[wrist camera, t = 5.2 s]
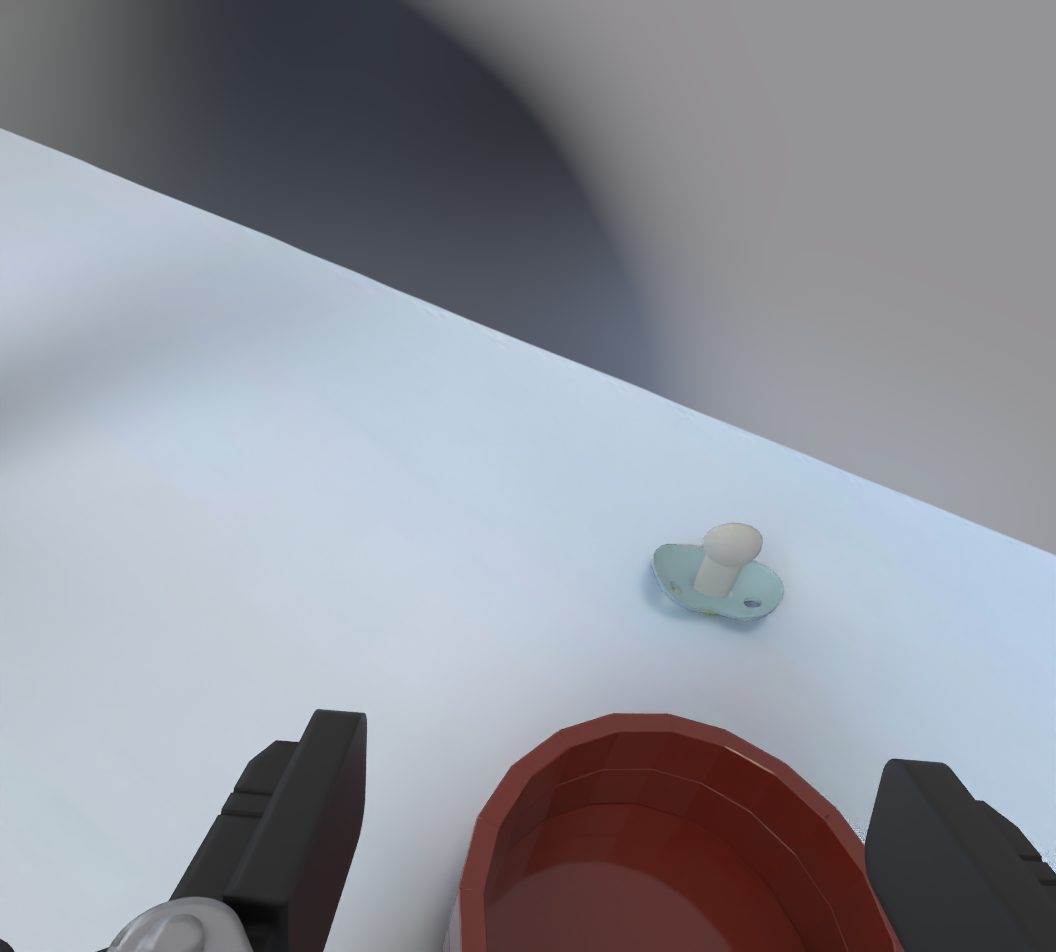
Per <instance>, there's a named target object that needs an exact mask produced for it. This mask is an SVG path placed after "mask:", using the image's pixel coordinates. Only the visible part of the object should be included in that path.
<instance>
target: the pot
mask: <svg viewBox="0 0 1056 952" xmlns="http://www.w3.org/2000/svg"><path fill="white" fill-rule="evenodd" d="M441 952H905V951H904V949H903V947H902V946H901V944H900V942H899V940H898V938H897V936H896V934H895V932H894V930H893V928H892V926H891V924H890V922H889V920H888V918H887V916H886V914H885V912H884V910H883V908H882V906H881V904H880V903H879V901H878V899H877V897H876V895H875V893H874V891H873V889H872V887H871V884H870V882H869V879H868V875H867V871H866V865H865V846H864V844H863V843H862V842H861V840H860V839H859V838H858V836H857V835H856V834H855V832H854V831H853V830H852V828H851V827H850V825H849V824H848V823H847V821H846V820H845V819H844V817H843V816H842V815H841V813H840V812H839V811H838V810H836V808H835V807H834V806H833V805H832V804H831V803H830V802H829V801H828V800H826V799H825V798H824V797H823V796H822V795H821V794H820V793H819V792H817V791H816V790H815V789H814V788H813V787H812V786H811V785H810V784H808V783H807V782H806V781H805V780H804V779H803V778H802V777H801V776H799V775H798V774H797V773H796V772H795V771H794V770H793V769H791V768H790V767H789V766H788V765H787V764H786V763H783V762H782V761H781V760H779V759H777V758H776V757H774V756H772V755H770V754H768V753H767V752H765V751H763V750H761V749H759V748H758V747H756V746H754V745H752V744H751V743H749V742H747V741H745V740H743V739H742V738H740V737H738V736H736V735H734V734H733V733H731V732H729V731H726V730H725V729H721V728H718V727H714V726H711V725H707V724H703V723H700V722H696V721H693V720H689V719H686V718H682V717H678V716H675V715H671V714H619V713H613V714H609V715H606V716H603V717H600V718H596V719H593V720H590V721H587V722H584V723H580V724H577V725H574V726H571V727H568V728H564V729H561V730H559V732H556V733H555V734H553V735H552V736H551V737H549V738H548V739H547V740H545V741H544V742H543V743H541V744H540V745H539V746H537V747H536V748H535V749H533V750H532V751H531V752H529V753H528V754H527V755H525V756H524V757H523V758H521V759H520V760H518V761H517V762H516V763H514V765H512V766H511V767H510V769H509V770H508V772H507V773H506V775H505V776H504V778H503V779H502V781H501V782H500V784H499V785H498V787H497V788H496V790H495V791H494V793H493V794H492V796H491V797H490V799H489V800H488V802H487V803H486V805H485V806H484V808H483V809H482V811H481V812H480V814H479V815H478V817H477V819H476V823H475V827H474V830H473V834H472V838H471V842H470V845H469V849H468V853H467V857H466V860H465V864H464V868H463V872H462V875H461V879H460V883H459V886H458V890H457V894H456V898H455V902H454V905H453V909H452V913H451V917H450V921H449V925H448V928H447V932H446V936H445V940H444V944H443V947H442V951H441Z"/></svg>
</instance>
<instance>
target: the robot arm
mask: <svg viewBox="0 0 1056 952" xmlns="http://www.w3.org/2000/svg"><path fill="white" fill-rule="evenodd" d="M366 746H367V718H366V714H365V713H358V712H346V711H334V710H322V709H317V710H316V711H315V712H314V714H313V716H312V718H311V720H310V722H309V724H308V726H307V728H306V730H305V732H304V734H303V736H302V738H301V740H300V742H290V741H278V740H276V741H275V742H273V743H272V744H271V745H269V746H268V747H267V748H266V749H264V750H263V751H262V752H261V753H259V754H258V755H257V756H256V757H254V758H253V759H252V760H250V761H249V763H248V765H247V766H246V768H245V770H244V771H243V773H242V775H241V777H240V778H239V780H238V782H237V784H236V785H235V787H234V792H233V793H231V794H230V796H229V797H228V799H227V801H226V803H225V804H224V806H223V808H222V811H221V815H218V816H217V818H216V820H215V822H214V823H213V825H212V827H211V828H210V830H209V832H208V834H207V835H206V837H205V839H204V841H203V842H202V844H201V846H200V847H199V849H198V851H197V853H196V854H195V856H194V858H193V860H192V861H191V863H190V865H189V866H188V868H187V870H186V872H185V873H184V875H183V877H182V879H181V880H180V882H179V884H178V885H177V887H176V889H175V891H174V892H173V894H172V896H171V898H170V899H169V901H168V902H165V903H162V904H160V905H157V906H155V907H153V908H151V909H149V910H147V911H146V912H144V913H142V914H141V915H139V916H138V917H136V918H135V919H134V920H132V921H131V922H130V923H129V924H128V925H127V926H126V927H125V928H124V929H122V930H121V931H120V933H119V934H118V935H117V936H116V938H115V939H114V940H113V942H112V943H111V945H110V947H108V948H106V949H103V950H100V951H97V952H323V951H324V948H325V944H326V941H327V938H328V935H329V932H330V929H331V925H332V922H333V919H334V916H335V913H336V910H337V907H338V903H339V900H340V897H341V894H342V891H343V888H344V884H345V881H346V878H347V875H348V872H349V869H350V865H351V862H352V859H353V856H354V853H355V850H356V846H357V843H358V840H359V836H360V831H361V827H362V821H363V814H364V806H365V786H366ZM865 865H866V871H867V875H868V879H869V882H870V884H871V887H872V889H873V891H874V893H875V895H876V897H877V899H878V901H879V903H880V904H881V906H882V908H883V910H884V912H885V914H886V916H887V918H888V920H889V922H890V924H891V926H892V928H893V930H894V932H895V934H896V936H897V938H898V940H899V942H900V944H901V946H902V947H903V949H904V951H905V952H1056V873H1055V872H1054V871H1053V870H1052V869H1051V867H1050V866H1049V865H1048V864H1047V863H1046V862H1042V856H1041V855H1040V854H1039V853H1038V851H1037V850H1036V849H1035V848H1034V847H1033V845H1032V844H1031V843H1030V842H1029V840H1028V839H1027V838H1026V837H1025V836H1024V834H1023V833H1022V832H1021V831H1020V829H1019V828H1018V827H1017V826H1015V825H1014V824H1013V823H1012V822H1010V821H1009V820H1008V819H1006V818H1005V817H1004V816H1002V815H1001V814H1000V813H998V812H997V811H996V810H995V809H993V808H992V807H991V806H989V805H988V804H987V803H985V802H984V801H978V800H975V799H974V798H973V796H972V795H971V794H970V793H969V791H968V790H967V789H966V788H965V786H964V785H963V784H962V782H961V781H960V780H959V779H958V777H957V776H956V775H955V773H954V772H953V771H952V770H951V769H950V767H949V766H947V765H946V764H944V763H940V762H928V761H916V760H904V759H890V760H889V761H888V762H887V763H886V765H885V767H884V769H883V772H882V776H881V780H880V784H879V788H878V792H877V796H876V800H875V804H874V808H873V812H872V816H871V820H870V824H869V828H868V832H867V836H866V841H865ZM0 952H14V950H13V948H12V947H11V946H10V945H9V944H8V943H7V942H5V941H3V940H1V939H0Z"/></svg>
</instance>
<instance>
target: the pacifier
mask: <svg viewBox="0 0 1056 952" xmlns="http://www.w3.org/2000/svg"><path fill="white" fill-rule="evenodd" d="M761 547H762V536H761V534H760V532H759V531H758V530H757V529H755V528H753V527H752V526H749V525H746V524H740V523H729V524H723V525H720V526H717V527H715V528H713V529H711V530H710V531H709V532H708V533H707V534H706V535H705V536H704V539H703V546H695V545H676V544H666V545H662V546H660V547H659V548H658V549H657V550H656V552H655V554H654V555H653V556H652V559H651V564H652V568H653V571H654V574H655V577H656V579H657V581H658V583H659V585H660V587H661V588H662V590H663V591H664V592H665V593H666V595H667V596H668V597H669V598H670V599H671V600H673V601H674V602H675V603H676V604H678V605H679V606H681V607H683V608H686V609H688V610H692V611H699V612H702V613H706V614H714V615H722V616H725V617H728V618H731V619H736V620H754V619H758V618H761V617H764V616H766V615H768V614H769V613H771V612H772V611H773V610H774V609H775V608H776V607H777V606H778V605H779V603H780V601H781V600H782V598H783V595H784V586H783V582H782V581H781V579H780V578H779V577H778V576H777V574H776V573H774V572H773V571H772V570H771V569H769V568H768V567H766V566H765V565H762V564H760V563H758V562H755V561H752V560H754V559H755V558H756V557H757V555H758V554H759V552H760V550H761ZM672 587H673V588H674V590H673V589H672ZM746 601H755V602H757V603H759V605H760V606H759V607H756V608H750V607H747V606H746V605H745V604H744V602H746Z"/></svg>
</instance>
